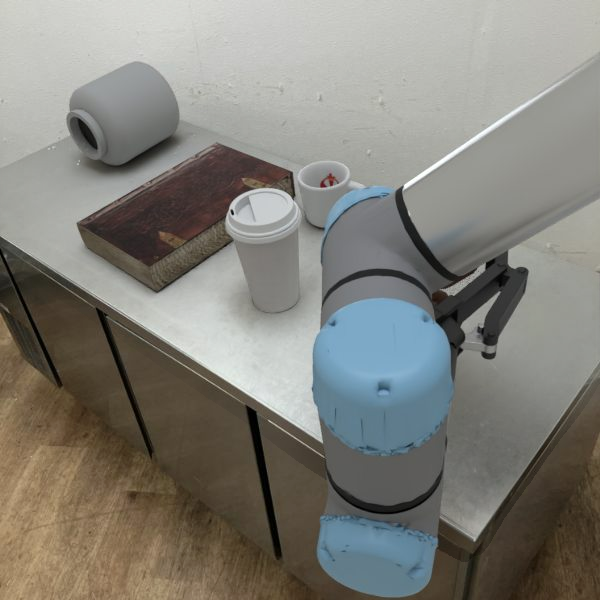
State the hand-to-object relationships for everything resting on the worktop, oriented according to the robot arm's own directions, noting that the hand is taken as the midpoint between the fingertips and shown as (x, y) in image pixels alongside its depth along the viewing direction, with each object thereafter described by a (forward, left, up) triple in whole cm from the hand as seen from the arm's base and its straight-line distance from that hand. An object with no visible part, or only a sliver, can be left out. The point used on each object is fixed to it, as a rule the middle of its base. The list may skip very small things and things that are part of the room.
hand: (434, 223), depth 66 cm
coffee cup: (+16, +15, -19) cm, 29 cm away
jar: (+63, +33, -19) cm, 74 cm away
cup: (+30, +2, -19) cm, 36 cm away
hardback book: (+39, +24, -19) cm, 49 cm away
